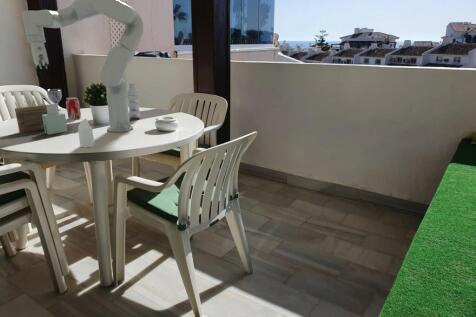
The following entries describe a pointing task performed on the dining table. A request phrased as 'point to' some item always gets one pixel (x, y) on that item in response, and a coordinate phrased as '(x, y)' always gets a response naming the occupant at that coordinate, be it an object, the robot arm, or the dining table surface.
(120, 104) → the robot arm
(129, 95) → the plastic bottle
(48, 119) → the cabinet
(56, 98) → the wine glass
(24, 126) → the brown boxy piece
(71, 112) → the soda can
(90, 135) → the white pointed crystal
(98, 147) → the dining table surface
